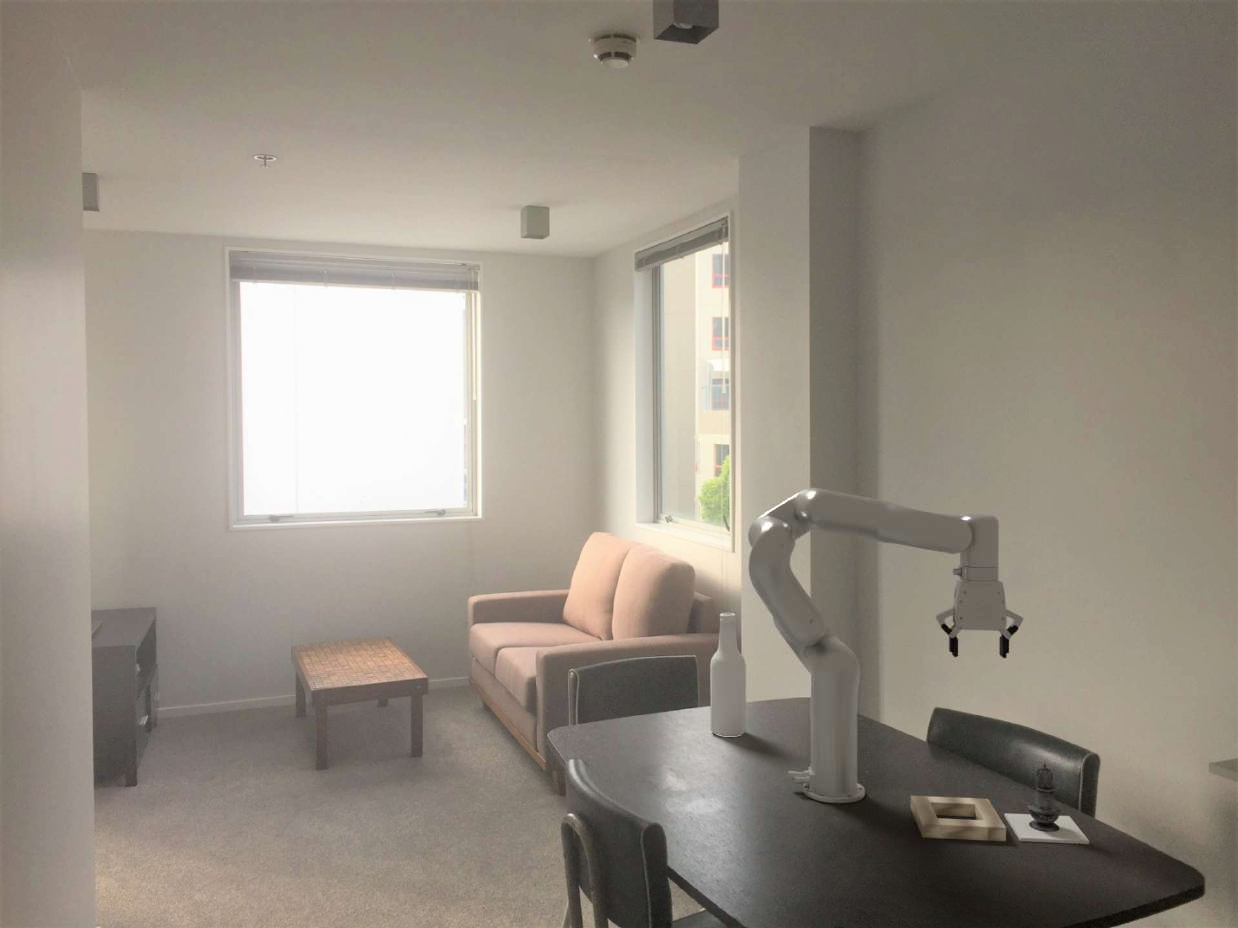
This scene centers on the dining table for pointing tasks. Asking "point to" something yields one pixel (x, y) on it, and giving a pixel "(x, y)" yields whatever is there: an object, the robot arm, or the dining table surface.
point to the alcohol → (728, 682)
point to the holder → (979, 829)
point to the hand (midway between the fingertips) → (978, 656)
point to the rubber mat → (1063, 835)
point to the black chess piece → (1044, 803)
